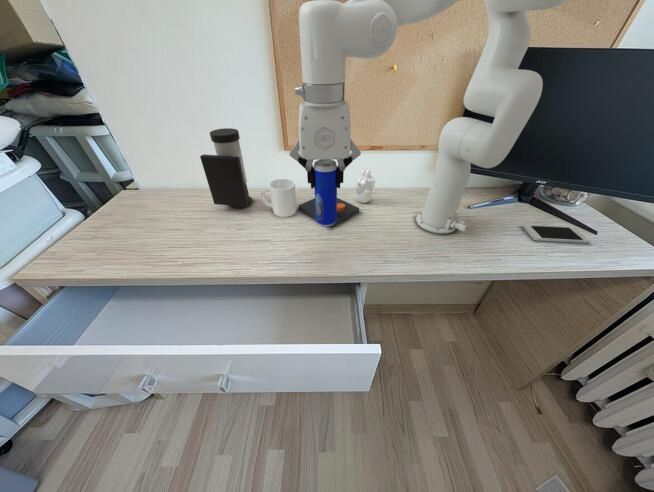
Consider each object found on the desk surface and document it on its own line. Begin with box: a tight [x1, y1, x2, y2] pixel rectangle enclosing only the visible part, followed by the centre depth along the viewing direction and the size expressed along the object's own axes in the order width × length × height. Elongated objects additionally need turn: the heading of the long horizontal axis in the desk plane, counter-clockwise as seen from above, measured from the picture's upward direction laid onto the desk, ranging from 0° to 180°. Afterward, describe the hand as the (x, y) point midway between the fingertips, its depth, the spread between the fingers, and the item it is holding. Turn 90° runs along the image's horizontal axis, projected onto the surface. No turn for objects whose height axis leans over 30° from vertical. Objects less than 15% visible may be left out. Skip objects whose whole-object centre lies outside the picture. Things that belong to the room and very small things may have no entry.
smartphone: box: [522, 224, 590, 244], centre depth 79 cm, size 7×16×1 cm, turn 86°
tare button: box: [337, 203, 345, 211], centre depth 85 cm, size 3×3×2 cm
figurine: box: [354, 168, 376, 204], centre depth 92 cm, size 7×7×12 cm
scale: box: [297, 197, 360, 229], centre depth 89 cm, size 16×14×4 cm
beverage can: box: [313, 159, 338, 227], centre depth 60 cm, size 5×5×15 cm
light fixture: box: [199, 127, 253, 210], centre depth 85 cm, size 12×11×25 cm
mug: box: [260, 178, 298, 218], centre depth 87 cm, size 12×8×10 cm
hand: (325, 185), depth 58 cm, fingers closed on beverage can, 5 cm apart
